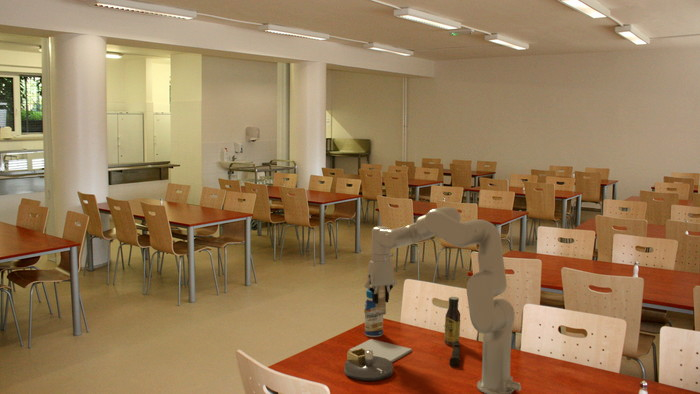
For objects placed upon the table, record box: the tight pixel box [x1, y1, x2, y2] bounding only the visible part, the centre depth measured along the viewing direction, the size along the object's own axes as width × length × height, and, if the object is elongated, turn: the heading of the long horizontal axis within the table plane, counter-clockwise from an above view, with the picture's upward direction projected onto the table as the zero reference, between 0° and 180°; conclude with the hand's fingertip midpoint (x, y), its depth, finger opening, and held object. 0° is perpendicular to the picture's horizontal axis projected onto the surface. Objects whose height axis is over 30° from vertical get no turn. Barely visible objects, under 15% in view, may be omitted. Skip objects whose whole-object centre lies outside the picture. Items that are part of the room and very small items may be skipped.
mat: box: [348, 338, 413, 363], centre depth 251 cm, size 20×16×1 cm
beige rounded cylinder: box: [376, 286, 387, 316], centre depth 249 cm, size 4×4×12 cm
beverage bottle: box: [363, 288, 384, 338], centre depth 271 cm, size 8×8×20 cm
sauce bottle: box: [443, 296, 461, 346], centre depth 260 cm, size 6×6×20 cm
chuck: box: [344, 348, 394, 382], centre depth 230 cm, size 18×18×8 cm
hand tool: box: [448, 340, 461, 368], centre depth 244 cm, size 19×4×5 cm, turn 165°
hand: (380, 301), depth 249 cm, fingers closed on beige rounded cylinder, 4 cm apart
